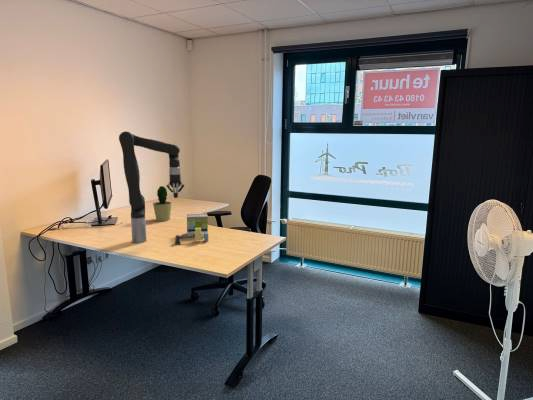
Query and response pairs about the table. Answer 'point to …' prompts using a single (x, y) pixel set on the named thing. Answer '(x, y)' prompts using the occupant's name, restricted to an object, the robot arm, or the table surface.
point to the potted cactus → (162, 205)
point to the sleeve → (198, 234)
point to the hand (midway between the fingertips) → (175, 197)
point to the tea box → (197, 223)
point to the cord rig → (205, 237)
